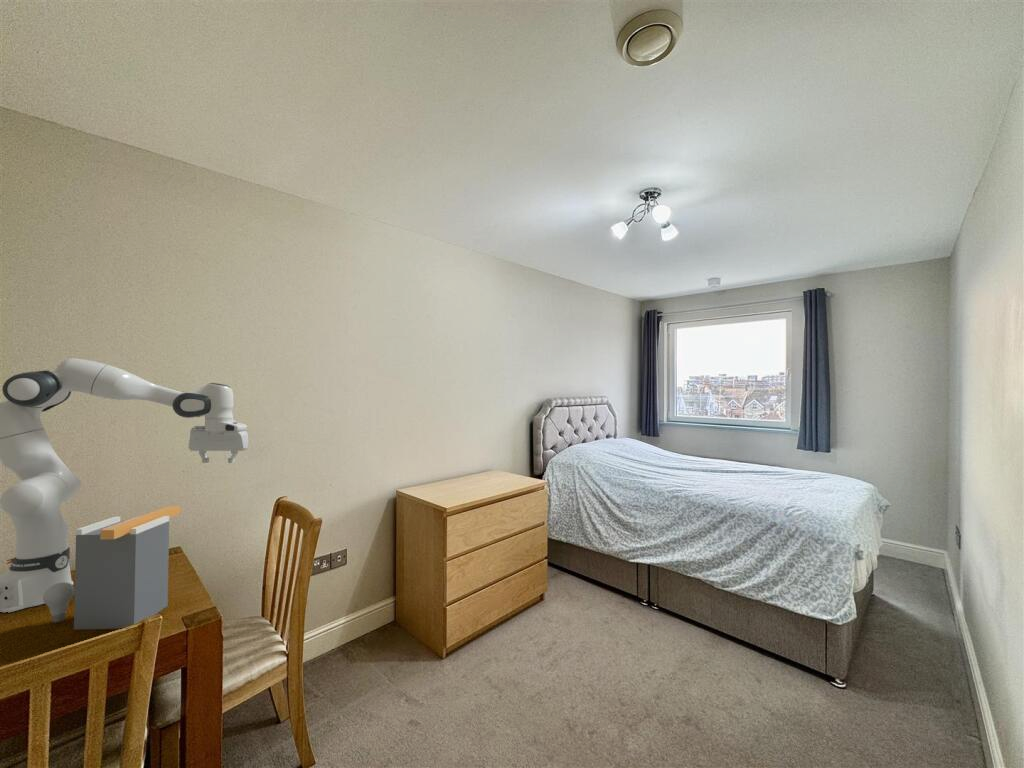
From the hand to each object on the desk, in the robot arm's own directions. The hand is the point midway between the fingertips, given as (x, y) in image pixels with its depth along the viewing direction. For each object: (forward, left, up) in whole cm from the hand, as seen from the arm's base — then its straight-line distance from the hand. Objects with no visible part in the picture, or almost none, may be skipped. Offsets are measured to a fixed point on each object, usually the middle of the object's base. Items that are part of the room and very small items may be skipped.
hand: (218, 462), depth 157 cm
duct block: (-4, -35, -39) cm, 53 cm away
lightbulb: (-20, -37, -39) cm, 57 cm away
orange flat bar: (0, -33, -13) cm, 35 cm away
